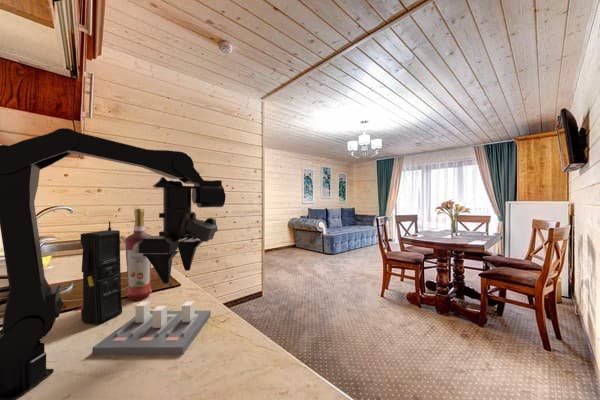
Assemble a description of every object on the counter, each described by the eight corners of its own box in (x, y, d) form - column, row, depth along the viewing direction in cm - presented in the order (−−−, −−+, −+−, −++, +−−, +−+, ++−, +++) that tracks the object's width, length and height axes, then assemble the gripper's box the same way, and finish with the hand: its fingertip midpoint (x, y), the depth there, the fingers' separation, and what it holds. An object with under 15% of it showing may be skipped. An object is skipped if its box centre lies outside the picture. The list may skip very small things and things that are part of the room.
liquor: (125, 303, 73) (125, 209, 73) (125, 296, 79) (124, 208, 79) (154, 298, 77) (153, 209, 77) (151, 290, 83) (151, 208, 83)
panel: (92, 355, 49) (92, 344, 49) (142, 316, 65) (142, 308, 65) (182, 354, 50) (182, 344, 50) (210, 316, 66) (210, 308, 65)
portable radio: (95, 327, 60) (94, 224, 59) (75, 325, 61) (74, 224, 61) (124, 312, 67) (124, 221, 67) (106, 310, 69) (106, 221, 68)
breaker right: (181, 322, 59) (181, 305, 59) (186, 317, 61) (186, 301, 61) (190, 322, 59) (190, 305, 59) (194, 317, 61) (194, 301, 61)
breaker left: (135, 322, 59) (135, 305, 59) (141, 317, 61) (141, 301, 61) (143, 322, 59) (143, 305, 59) (149, 317, 61) (149, 301, 61)
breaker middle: (152, 327, 56) (152, 310, 56) (158, 322, 59) (158, 305, 59) (161, 327, 56) (161, 310, 56) (166, 322, 59) (166, 305, 59)
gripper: (193, 210, 47) (193, 292, 47) (225, 206, 65) (225, 265, 65) (136, 210, 47) (136, 291, 47) (184, 206, 66) (184, 265, 66)
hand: (177, 276), depth 56 cm, fingers open, 9 cm apart
